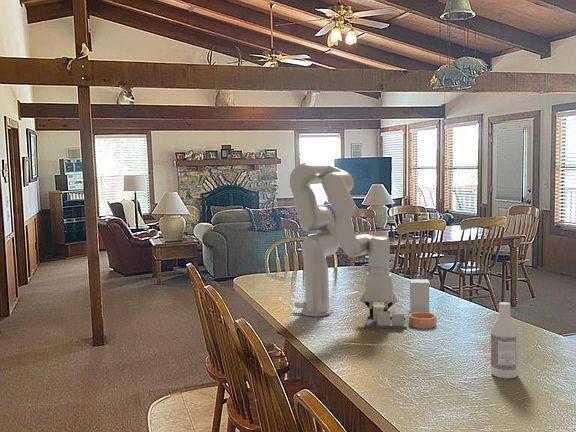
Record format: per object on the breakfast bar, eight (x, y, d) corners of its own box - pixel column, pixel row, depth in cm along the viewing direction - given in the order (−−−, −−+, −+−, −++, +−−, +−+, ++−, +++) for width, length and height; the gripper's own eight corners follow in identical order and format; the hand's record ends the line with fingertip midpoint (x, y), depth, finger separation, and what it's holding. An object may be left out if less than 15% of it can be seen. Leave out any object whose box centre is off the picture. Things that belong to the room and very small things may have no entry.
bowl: (409, 328, 198) (409, 318, 198) (409, 321, 208) (408, 311, 207) (437, 329, 196) (437, 319, 196) (435, 322, 206) (435, 312, 205)
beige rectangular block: (373, 321, 204) (373, 307, 204) (373, 317, 209) (373, 304, 208) (383, 321, 204) (383, 308, 203) (384, 318, 208) (384, 305, 208)
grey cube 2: (392, 327, 198) (391, 314, 198) (392, 324, 202) (392, 311, 202) (404, 328, 197) (403, 314, 197) (404, 325, 201) (403, 311, 201)
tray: (364, 328, 199) (364, 325, 199) (366, 319, 212) (366, 316, 212) (407, 330, 196) (406, 326, 196) (406, 320, 209) (406, 317, 209)
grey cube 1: (377, 327, 199) (377, 313, 199) (377, 324, 203) (377, 311, 203) (390, 327, 198) (390, 314, 198) (390, 324, 202) (390, 311, 202)
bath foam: (496, 368, 158) (496, 299, 156) (521, 373, 153) (522, 302, 152) (487, 375, 153) (487, 304, 151) (512, 381, 148) (513, 307, 146)
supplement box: (429, 315, 215) (429, 282, 214) (410, 314, 217) (409, 282, 216) (428, 310, 223) (428, 279, 221) (409, 309, 224) (409, 278, 223)
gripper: (355, 271, 202) (355, 320, 204) (402, 273, 199) (401, 323, 201) (357, 267, 210) (356, 315, 212) (402, 269, 206) (401, 317, 208)
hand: (378, 318), depth 206 cm, fingers closed on beige rectangular block, 3 cm apart
